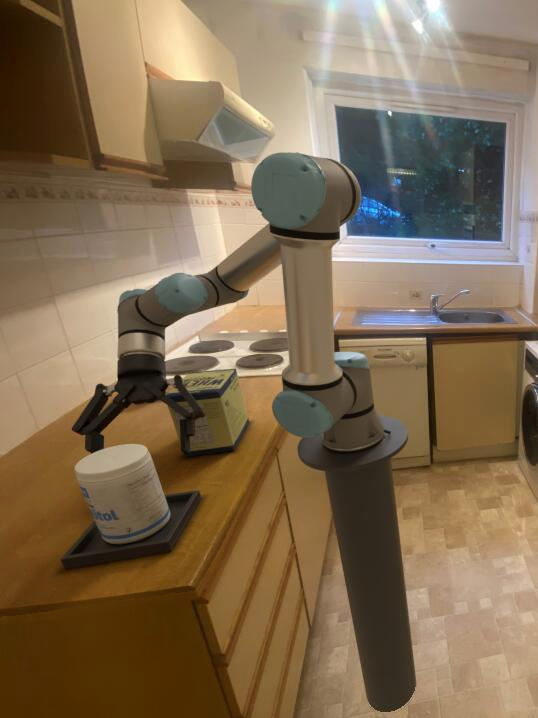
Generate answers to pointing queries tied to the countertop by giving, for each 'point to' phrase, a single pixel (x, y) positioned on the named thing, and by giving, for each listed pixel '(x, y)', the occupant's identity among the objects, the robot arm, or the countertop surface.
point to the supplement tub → (123, 493)
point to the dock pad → (99, 551)
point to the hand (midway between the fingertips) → (142, 460)
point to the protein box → (213, 411)
